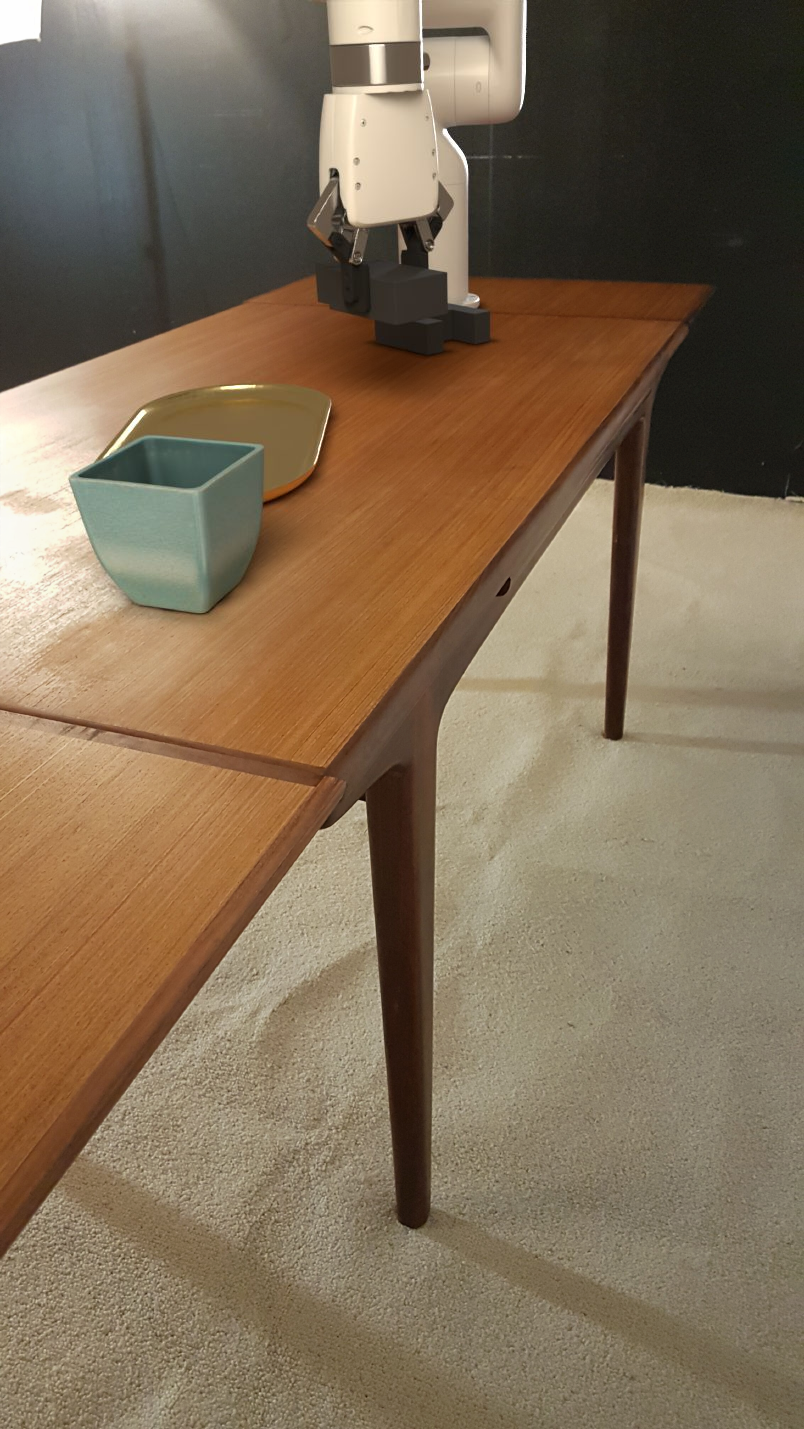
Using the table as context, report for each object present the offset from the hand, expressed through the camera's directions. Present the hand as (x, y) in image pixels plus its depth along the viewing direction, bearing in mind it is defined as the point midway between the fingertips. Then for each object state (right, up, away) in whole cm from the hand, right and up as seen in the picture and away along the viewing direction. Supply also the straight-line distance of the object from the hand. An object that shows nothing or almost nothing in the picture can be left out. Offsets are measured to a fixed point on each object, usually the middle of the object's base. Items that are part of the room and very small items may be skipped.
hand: (387, 302), depth 93 cm
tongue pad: (-1, 0, +2) cm, 2 cm away
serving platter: (-15, -14, -2) cm, 21 cm away
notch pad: (+5, +8, +32) cm, 34 cm away
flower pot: (-12, -30, -27) cm, 42 cm away
